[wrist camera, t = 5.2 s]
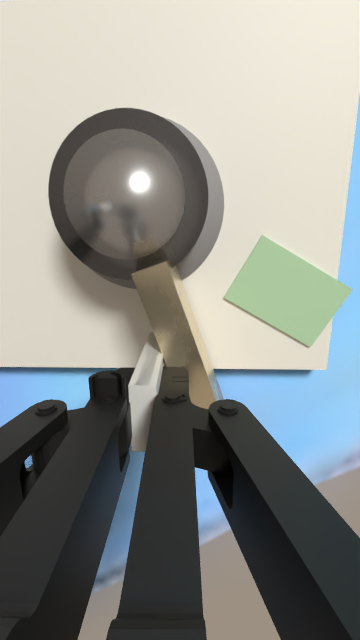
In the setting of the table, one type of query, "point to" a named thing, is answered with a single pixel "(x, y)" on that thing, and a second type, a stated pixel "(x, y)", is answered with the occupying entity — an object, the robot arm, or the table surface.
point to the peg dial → (138, 222)
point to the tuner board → (217, 159)
